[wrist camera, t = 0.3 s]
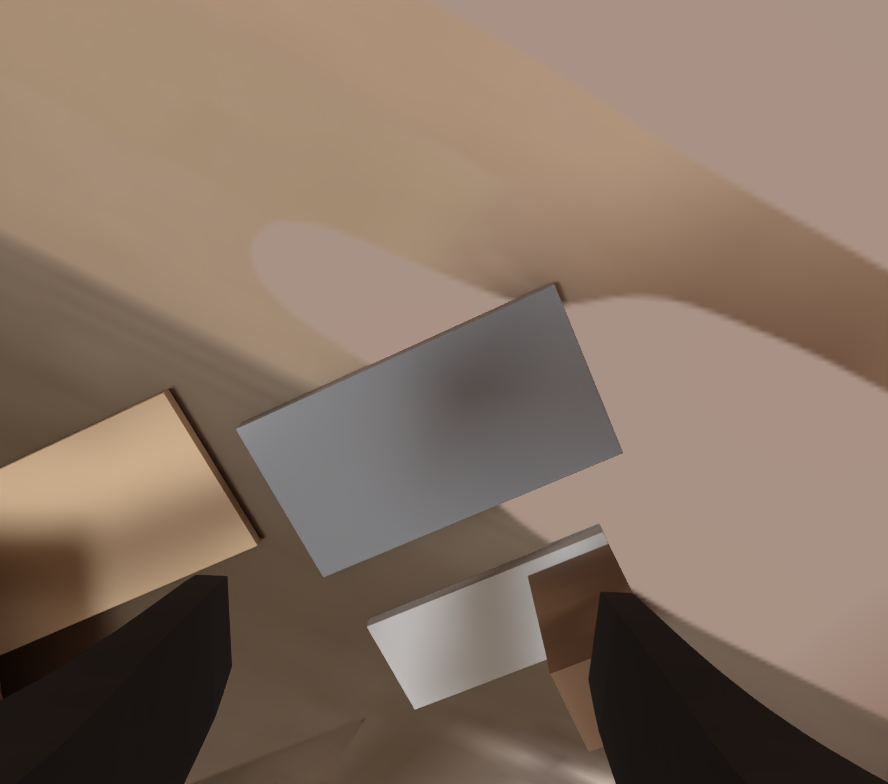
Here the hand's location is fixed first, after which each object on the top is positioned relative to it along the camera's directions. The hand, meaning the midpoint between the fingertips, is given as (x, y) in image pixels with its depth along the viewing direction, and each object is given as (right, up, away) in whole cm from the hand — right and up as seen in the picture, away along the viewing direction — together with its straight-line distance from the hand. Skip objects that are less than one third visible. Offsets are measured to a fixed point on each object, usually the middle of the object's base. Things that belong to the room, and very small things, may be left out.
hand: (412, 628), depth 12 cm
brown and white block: (+3, -4, +11) cm, 12 cm away
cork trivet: (-16, -2, +10) cm, 19 cm away
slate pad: (0, +3, +9) cm, 9 cm away
